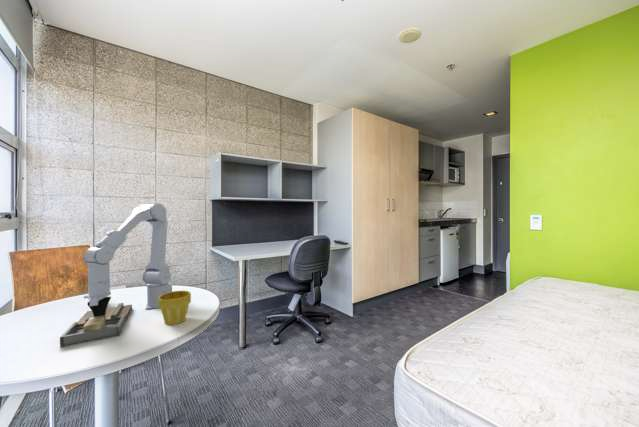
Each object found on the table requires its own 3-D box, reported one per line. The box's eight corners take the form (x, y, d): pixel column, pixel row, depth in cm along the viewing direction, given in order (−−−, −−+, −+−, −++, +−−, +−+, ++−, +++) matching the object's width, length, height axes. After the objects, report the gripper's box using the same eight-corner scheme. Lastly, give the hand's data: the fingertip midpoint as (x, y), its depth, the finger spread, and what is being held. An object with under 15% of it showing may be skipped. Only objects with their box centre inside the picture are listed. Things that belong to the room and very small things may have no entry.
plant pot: (183, 326, 89) (182, 299, 88) (152, 328, 88) (151, 300, 88) (195, 314, 99) (195, 289, 99) (168, 316, 98) (167, 290, 98)
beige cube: (103, 330, 85) (102, 318, 85) (100, 335, 82) (99, 323, 82) (87, 333, 83) (87, 321, 83) (83, 339, 80) (83, 326, 80)
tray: (125, 322, 93) (125, 313, 93) (118, 335, 83) (118, 326, 83) (74, 331, 86) (74, 322, 86) (60, 347, 76) (59, 337, 76)
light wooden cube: (105, 314, 88) (102, 318, 85) (105, 326, 89) (102, 330, 85) (90, 317, 87) (86, 321, 83) (90, 329, 87) (87, 333, 83)
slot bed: (131, 309, 106) (131, 301, 106) (125, 321, 93) (125, 313, 93) (87, 316, 99) (87, 308, 99) (74, 330, 87) (74, 321, 87)
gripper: (90, 278, 93) (91, 315, 93) (76, 288, 80) (77, 331, 80) (114, 275, 96) (115, 311, 97) (105, 285, 84) (105, 326, 84)
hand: (99, 320), depth 89 cm, fingers closed
